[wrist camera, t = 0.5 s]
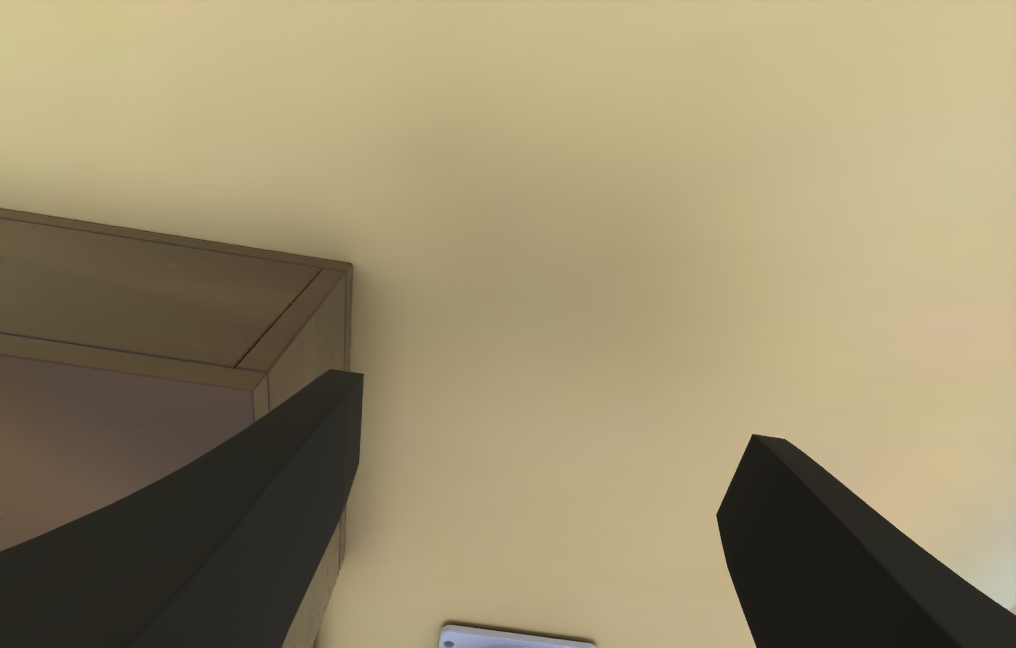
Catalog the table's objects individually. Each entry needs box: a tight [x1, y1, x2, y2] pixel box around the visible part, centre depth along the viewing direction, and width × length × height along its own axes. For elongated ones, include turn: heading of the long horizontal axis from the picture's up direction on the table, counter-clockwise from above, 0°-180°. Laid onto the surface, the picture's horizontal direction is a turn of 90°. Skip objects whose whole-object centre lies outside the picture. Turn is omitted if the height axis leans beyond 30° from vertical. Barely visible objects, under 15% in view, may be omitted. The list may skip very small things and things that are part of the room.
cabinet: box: [0, 209, 352, 648], centre depth 19 cm, size 15×14×8 cm
